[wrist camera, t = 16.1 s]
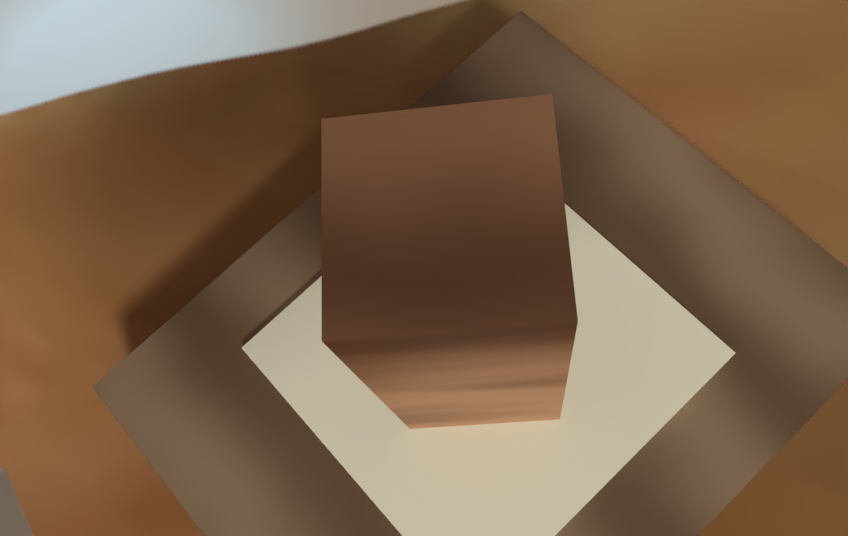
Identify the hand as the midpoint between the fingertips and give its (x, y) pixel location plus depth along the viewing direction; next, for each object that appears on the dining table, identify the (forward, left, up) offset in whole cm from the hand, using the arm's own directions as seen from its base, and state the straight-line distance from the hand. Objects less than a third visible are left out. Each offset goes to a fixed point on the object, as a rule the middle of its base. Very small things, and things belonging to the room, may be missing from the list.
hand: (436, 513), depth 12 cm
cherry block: (-4, -5, -15) cm, 16 cm away
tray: (-4, -5, -19) cm, 20 cm away
